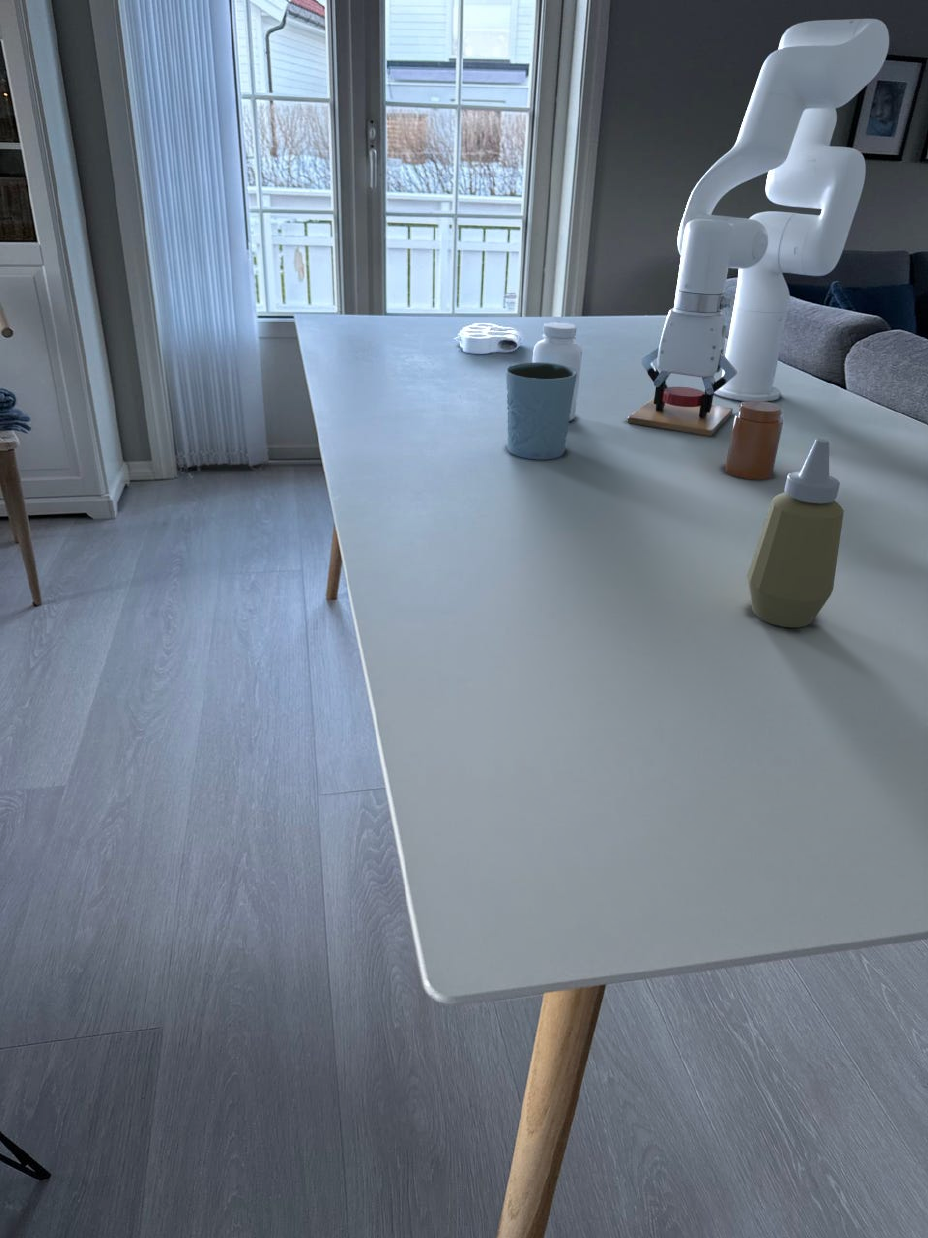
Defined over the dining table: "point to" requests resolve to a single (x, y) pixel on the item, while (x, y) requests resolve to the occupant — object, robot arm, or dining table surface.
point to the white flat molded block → (488, 338)
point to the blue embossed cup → (539, 408)
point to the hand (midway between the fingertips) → (681, 411)
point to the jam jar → (754, 440)
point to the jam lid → (682, 396)
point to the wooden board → (681, 418)
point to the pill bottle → (560, 351)
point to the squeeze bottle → (798, 546)
